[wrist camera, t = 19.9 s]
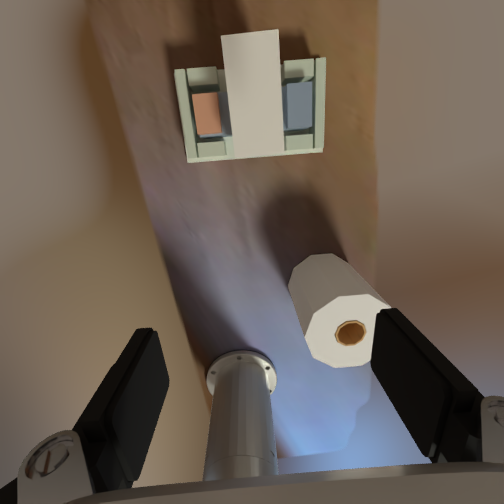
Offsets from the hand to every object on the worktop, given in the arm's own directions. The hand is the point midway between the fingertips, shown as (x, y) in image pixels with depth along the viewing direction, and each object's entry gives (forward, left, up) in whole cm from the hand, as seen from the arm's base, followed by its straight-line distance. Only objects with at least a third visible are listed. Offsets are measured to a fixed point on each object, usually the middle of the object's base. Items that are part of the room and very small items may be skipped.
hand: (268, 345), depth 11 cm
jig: (+12, -1, -26) cm, 29 cm away
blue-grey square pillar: (+12, -1, -25) cm, 28 cm away
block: (+12, -1, -22) cm, 25 cm away
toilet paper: (-12, -10, -27) cm, 31 cm away
